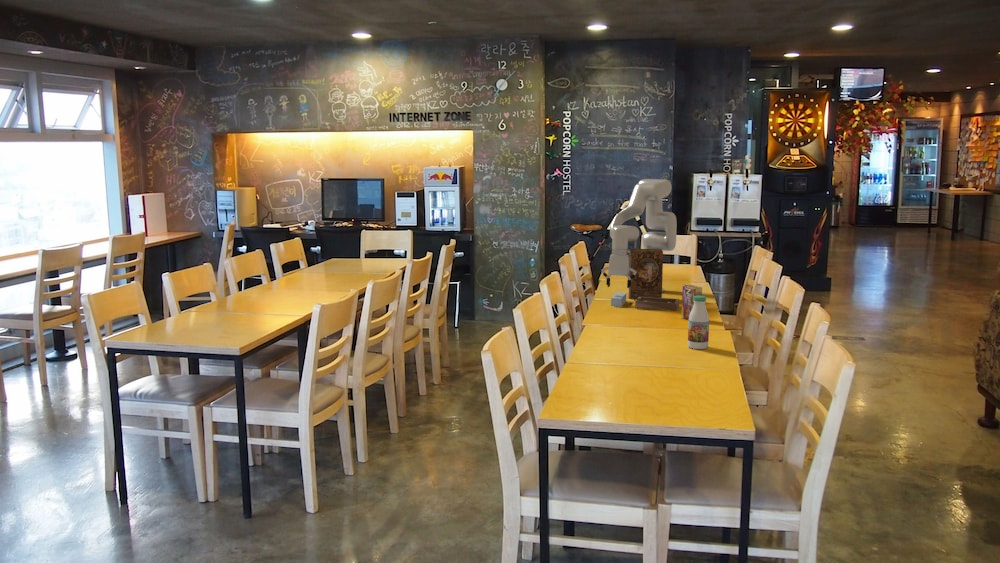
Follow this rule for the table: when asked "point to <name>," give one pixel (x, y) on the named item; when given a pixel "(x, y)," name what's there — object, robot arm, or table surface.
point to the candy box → (689, 299)
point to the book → (646, 273)
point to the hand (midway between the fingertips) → (618, 287)
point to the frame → (657, 303)
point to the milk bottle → (698, 324)
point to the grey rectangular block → (618, 299)
